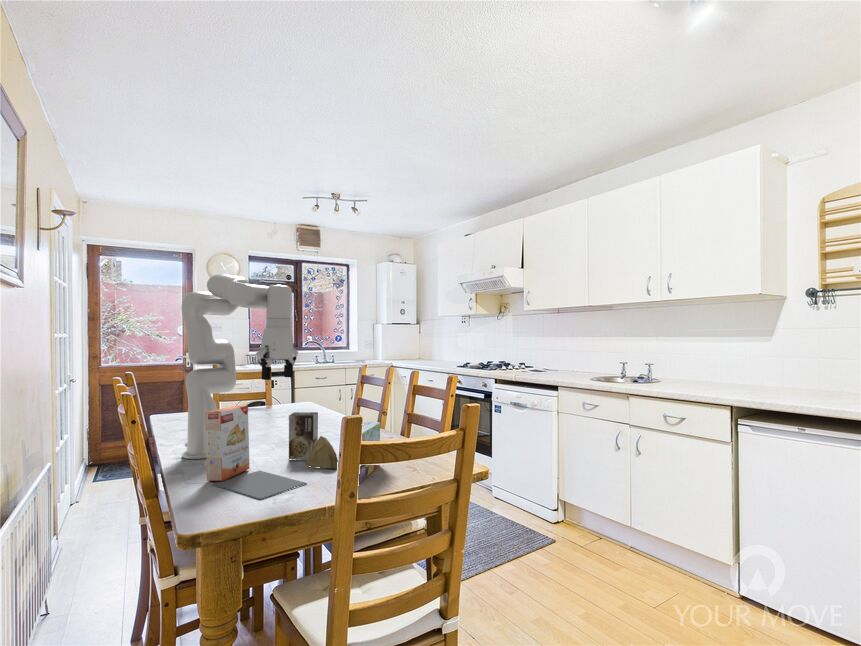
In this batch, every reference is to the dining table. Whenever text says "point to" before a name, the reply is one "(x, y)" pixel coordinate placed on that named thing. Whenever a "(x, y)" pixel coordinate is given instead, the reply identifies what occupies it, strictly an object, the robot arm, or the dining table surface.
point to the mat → (259, 484)
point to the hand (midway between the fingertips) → (277, 378)
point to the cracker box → (227, 442)
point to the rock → (322, 455)
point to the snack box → (369, 434)
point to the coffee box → (302, 434)
